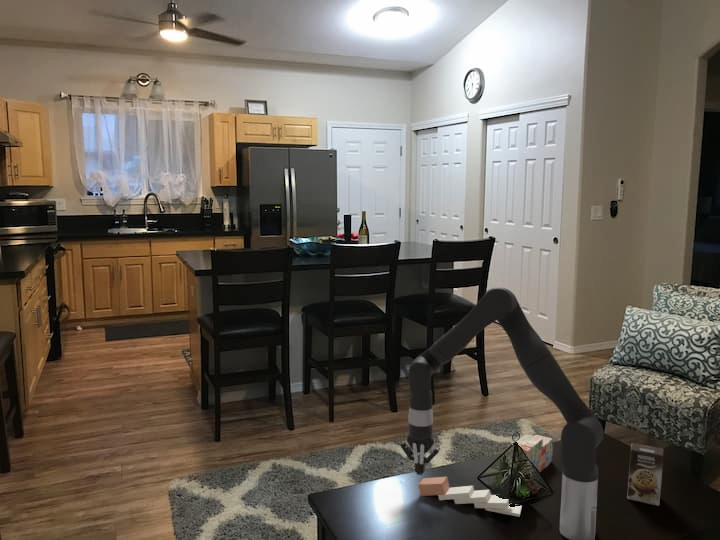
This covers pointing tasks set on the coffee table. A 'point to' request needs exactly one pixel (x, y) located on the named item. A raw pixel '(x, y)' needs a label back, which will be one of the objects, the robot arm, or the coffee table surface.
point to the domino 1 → (434, 486)
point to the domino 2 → (457, 493)
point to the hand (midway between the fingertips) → (419, 473)
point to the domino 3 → (475, 497)
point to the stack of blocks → (537, 450)
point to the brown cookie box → (645, 474)
